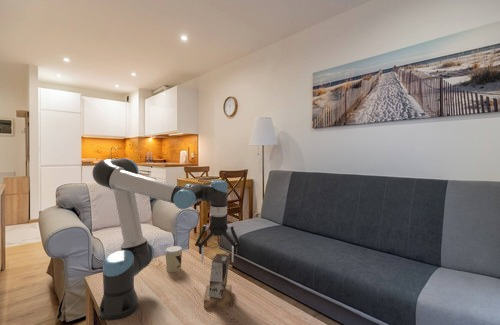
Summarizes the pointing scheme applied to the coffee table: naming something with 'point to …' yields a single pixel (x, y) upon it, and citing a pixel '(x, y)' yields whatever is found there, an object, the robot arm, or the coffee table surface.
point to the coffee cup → (173, 258)
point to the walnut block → (218, 299)
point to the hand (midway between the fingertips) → (217, 260)
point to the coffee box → (218, 275)
